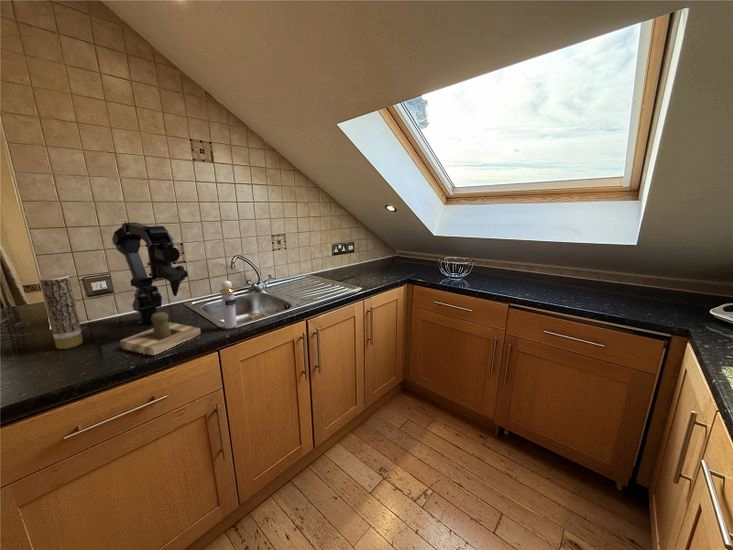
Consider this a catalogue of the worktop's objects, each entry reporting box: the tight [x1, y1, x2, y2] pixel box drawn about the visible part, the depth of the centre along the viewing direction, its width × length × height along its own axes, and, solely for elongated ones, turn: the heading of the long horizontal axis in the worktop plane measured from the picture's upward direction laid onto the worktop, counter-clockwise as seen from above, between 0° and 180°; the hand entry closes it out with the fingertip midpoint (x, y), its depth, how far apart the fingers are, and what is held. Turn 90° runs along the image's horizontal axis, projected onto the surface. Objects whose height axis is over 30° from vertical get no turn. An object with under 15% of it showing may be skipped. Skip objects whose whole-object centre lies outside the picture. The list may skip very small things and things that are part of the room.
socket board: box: [120, 322, 202, 356], centre depth 108 cm, size 16×18×3 cm
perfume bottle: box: [219, 280, 238, 329], centre depth 119 cm, size 6×6×20 cm
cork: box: [151, 311, 172, 340], centre depth 107 cm, size 6×6×11 cm
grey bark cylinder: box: [39, 273, 84, 350], centre depth 101 cm, size 7×7×25 cm
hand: (164, 299), depth 115 cm, fingers open, 9 cm apart
